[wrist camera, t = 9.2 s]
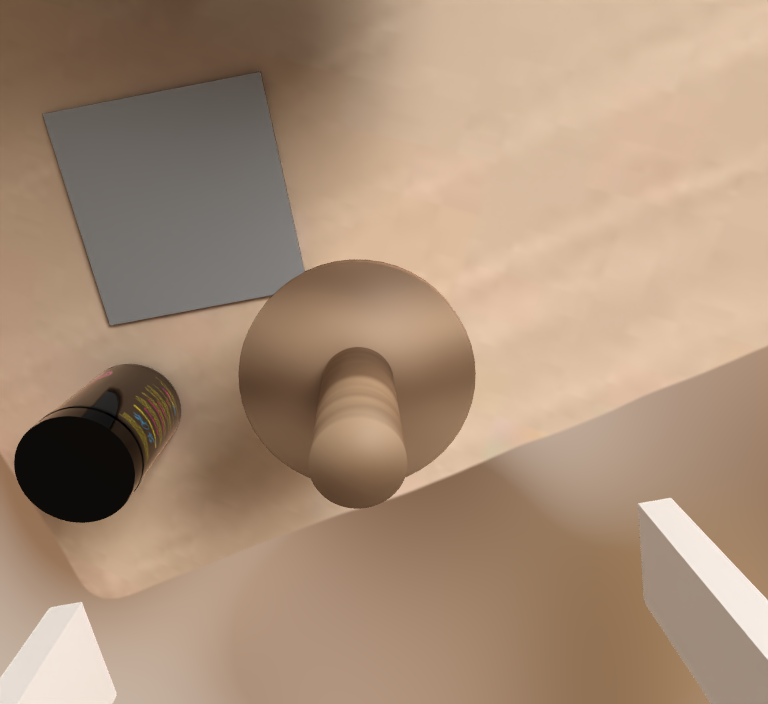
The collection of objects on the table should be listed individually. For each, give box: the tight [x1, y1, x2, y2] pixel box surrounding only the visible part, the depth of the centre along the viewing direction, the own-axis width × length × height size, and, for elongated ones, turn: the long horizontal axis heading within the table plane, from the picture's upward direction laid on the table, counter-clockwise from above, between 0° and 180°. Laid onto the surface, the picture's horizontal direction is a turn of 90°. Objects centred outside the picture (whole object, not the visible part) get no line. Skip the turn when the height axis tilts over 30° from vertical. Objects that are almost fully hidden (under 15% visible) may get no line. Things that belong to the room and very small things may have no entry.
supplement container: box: [14, 364, 181, 523], centre depth 40 cm, size 7×7×10 cm
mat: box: [42, 72, 305, 325], centre depth 41 cm, size 14×14×1 cm
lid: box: [239, 260, 475, 508], centre depth 28 cm, size 12×12×10 cm
